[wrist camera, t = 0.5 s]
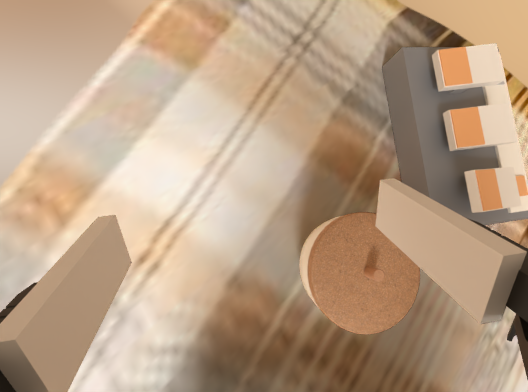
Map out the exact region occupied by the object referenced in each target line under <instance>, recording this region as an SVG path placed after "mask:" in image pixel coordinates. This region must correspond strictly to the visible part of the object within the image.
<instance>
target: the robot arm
mask: <svg viewBox="0 0 528 392" xmlns="http://www.w3.org/2000/svg"><path fill="white" fill-rule="evenodd" d="M375 226H376V227H377V228H378V229H379V230H380V231H381V232H382V233H383V234H384V235H385V236H386V237H387V238H389V239H390V240H391V241H392V242H393V243H394V244H395V245H396V246H397V247H398V248H399V249H400V250H401V251H402V252H403V253H405V254H406V255H407V256H408V257H409V258H410V259H411V260H412V261H413V262H414V263H415V264H416V265H417V266H418V267H419V268H421V269H422V270H423V271H424V272H425V273H426V274H427V275H428V276H429V277H430V278H431V279H432V280H433V281H434V282H436V283H437V284H438V285H439V286H440V287H441V288H442V289H443V290H444V291H445V292H446V293H447V294H448V295H449V296H450V297H452V298H453V299H454V300H455V301H456V302H457V303H458V304H459V305H460V306H461V307H462V308H463V309H464V310H465V311H467V312H468V313H469V314H470V315H471V316H472V317H473V318H474V319H475V320H476V321H477V322H478V323H479V324H485V323H490V322H495V321H500V320H501V319H502V316H503V314H504V311H505V308H506V306H507V307H509V308H510V309H511V310H512V311H514V312H515V313H516V316H515V318H514V321H513V323H512V326H511V328H510V331H509V333H508V336H507V340H508V341H512V339H513V337H514V336H515V335H517V338H518V344H519V346H520V351H521V355H522V359H523V363H524V367H525V371H526V375H527V379H528V249H527V248H525V247H523V246H521V245H520V244H518V243H516V242H514V241H512V240H510V239H509V238H507V237H505V236H501V234H499V233H497V232H496V231H494V230H491V229H490V228H488V227H486V226H485V225H483V224H481V223H479V222H477V221H474V220H471V219H468V218H465V217H463V216H461V215H459V214H458V213H456V212H454V211H452V210H450V209H449V208H447V207H445V206H443V205H441V204H440V203H438V202H436V201H434V200H432V199H431V198H429V197H427V196H425V195H423V194H422V193H420V192H418V191H416V190H414V189H413V188H411V187H409V186H407V185H405V184H404V183H402V182H400V181H398V180H396V179H395V178H391V179H383V180H380V185H379V195H378V205H377V215H376V225H375ZM131 263H132V262H131V259H130V256H129V254H128V251H127V248H126V245H125V242H124V239H123V236H122V233H121V230H120V227H119V224H118V221H117V219H116V216H115V215H111V216H103V217H98V218H97V219H96V220H95V221H94V222H93V223H92V224H91V225H90V226H89V228H88V229H87V230H86V231H85V232H84V233H83V234H82V235H81V236H80V237H79V238H78V240H77V241H76V242H75V243H74V244H73V245H72V246H71V247H70V248H69V249H68V250H67V252H66V253H65V254H64V255H63V256H62V257H61V258H60V259H59V260H58V261H57V262H56V263H55V265H54V266H53V267H52V268H51V269H50V270H49V271H48V272H47V273H46V274H45V275H44V277H43V278H42V279H41V280H40V281H39V282H37V283H33V284H32V285H31V286H29V287H28V288H26V289H25V290H23V291H22V292H21V293H19V294H18V295H17V296H16V297H15V298H14V299H13V300H12V301H11V302H10V303H9V304H8V305H7V306H6V309H3V310H2V311H1V312H0V392H67V391H68V389H69V387H70V385H71V383H72V381H73V379H74V377H75V375H76V373H77V371H78V369H79V367H80V365H81V363H82V361H83V359H84V357H85V355H86V353H87V351H88V349H89V347H90V345H91V343H92V341H93V339H94V337H95V335H96V333H97V331H98V329H99V327H100V325H101V323H102V321H103V319H104V317H105V315H106V313H107V311H108V309H109V307H110V305H111V303H112V301H113V299H114V297H115V295H116V293H117V291H118V289H119V287H120V285H121V283H122V281H123V279H124V277H125V275H126V273H127V271H128V269H129V267H130V265H131Z"/></svg>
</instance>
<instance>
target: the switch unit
mask: <svg viewBox="0 0 528 392" xmlns="http://www.w3.org/2000/svg"><path fill="white" fill-rule="evenodd" d="M450 48H459V47H402V48H401V49H400V50H399V51H398V52H397V53H396V54H395V55H394V56H393V57H392V58H391V59H390V60H389V61H387V62H386V63H385V64H384V65H383V66H382V70H383V76H384V82H385V88H386V93H387V99H388V105H389V111H390V117H391V123H392V128H393V134H394V140H395V146H396V152H397V158H398V163H399V169H400V175H401V181H402V183H404V184H405V185H407V186H409V187H411V188H413V189H414V190H416V191H418V192H420V193H422V194H423V195H425V196H427V197H429V198H431V199H432V200H434V201H436V202H438V203H440V204H441V205H443V206H445V207H447V208H449V209H450V210H452V211H454V212H456V213H458V214H459V215H461V216H463V217H465V218H468V219H471V220H474V221H477V222H479V223H481V224H483V225H489V224H496V223H502V222H509V221H516V220H522V219H528V181H527V176H526V171H525V167H524V162H523V157H522V153H521V148H520V144H519V139H518V134H517V130H516V125H515V120H514V116H513V111H512V106H511V102H510V97H509V92H508V88H507V83H506V78H505V74H504V69H503V64H502V60H501V55H500V53H499V57H500V62H501V66H502V71H503V76H504V81H502V82H501V83H499V84H497V85H491V86H483V87H474V88H466V89H457V90H448V91H440V92H439V91H438V86H437V81H436V76H435V70H434V65H433V60H432V55H433V54H434V53H435V52H436V51H437V50H441V49H450ZM497 48H498V47H497ZM498 52H499V50H498ZM503 103H509V104H510V108H511V113H512V118H513V122H514V127H515V132H516V136H517V142H514V143H511V144H505V145H497V146H489V147H481V148H472V149H464V150H456V151H450V149H449V144H448V139H447V133H446V128H445V123H444V118H443V113H444V112H446V111H448V110H452V109H460V108H469V107H477V106H486V105H494V104H503ZM505 167H514V172H515V177H516V181H517V186H518V191H519V196H520V200H521V205H522V206H517V207H510V208H504V209H498V210H492V211H486V212H476V213H472V210H471V205H470V199H469V194H468V189H467V184H466V179H465V174H464V172H466V171H471V170H478V169H492V168H505Z"/></svg>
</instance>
